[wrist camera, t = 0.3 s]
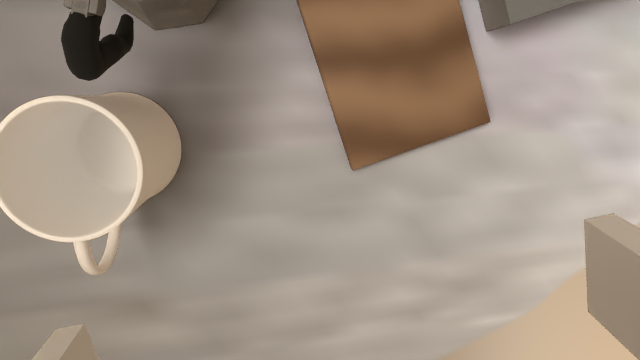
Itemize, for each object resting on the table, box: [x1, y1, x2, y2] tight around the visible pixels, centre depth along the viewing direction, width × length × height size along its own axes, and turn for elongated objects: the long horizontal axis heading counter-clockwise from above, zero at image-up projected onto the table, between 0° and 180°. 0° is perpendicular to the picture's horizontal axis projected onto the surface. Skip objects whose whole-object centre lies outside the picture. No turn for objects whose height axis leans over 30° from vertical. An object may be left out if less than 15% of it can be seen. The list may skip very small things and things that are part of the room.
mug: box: [0, 92, 181, 275], centre depth 33 cm, size 12×8×12 cm
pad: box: [297, 0, 490, 170], centre depth 39 cm, size 16×12×1 cm
